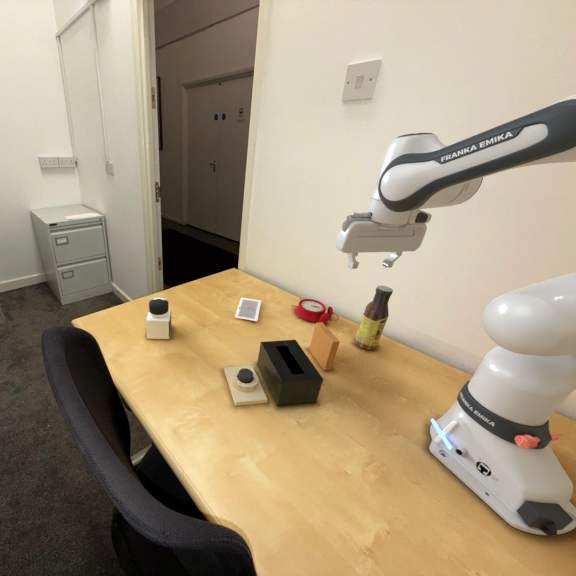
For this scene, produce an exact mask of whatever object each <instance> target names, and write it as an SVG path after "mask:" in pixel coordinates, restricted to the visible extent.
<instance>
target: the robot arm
mask: <svg viewBox="0 0 576 576" xmlns="http://www.w3.org/2000/svg"><path fill="white" fill-rule="evenodd" d="M559 163H560V164H561V163H576V92H575V93H573V94H570V95H569V96H566V97H563V98H562V99H560V100H557V101H555V102H552V103H550V104H549V105H546V106H544V107H542V108H540V109H537V110H536V111H533V112H530V113H528V114H526V115H523V116H520V117H518V118H515V119H513V120H510V121H507V122H504V123H503V124H500V125H497V126H495V127H492V128H490V129H488V130H485V131H482V132H480V133H477V134H475V135H472V136H470V137H467V138H465V139H462V140H460V141H458V142H455V143H452V144H450V145H448V146H447V145H446V144H444V143H443V142H442V141H441V140H440V139H439V136H438V135H437V134H435V133H432V132H418V133H417V132H416V133H415V132H414V133H407V134H402V135H399V136H396V137H395V138H394V139H393V140H392V141H391V142H390V143H389V145H388V146H387V148H386V150H385V152H384V154H383V157H382V160H381V163H380V165H379V167H378V171H377V175H376V184H375V187H374V190H373V192H372V193H371V195H370V198H369V200H368V201H369V202H368V205H367V208H366V211H365V212H352V213H350V214H348V215H347V216H346V217H345V218H343V222H342V225H341V227H340V229H339V232H338V234H337V237H336V239H335V243H334V246H335V247H336V250H338V251H339V252H341V253H343V254H346V255H347V258H348V260H349V261H348V264H347V267H348V268H349V269H350V270H355V269H358V267H359V265H360V262H359V261H357V260H356V257H358V256H359V253H390V254H389V256H388V257H387V258H384V259H383V261H382V264H381V265H382V267H384V268H386V269H387V268H388V269H390V268H393V266H394V263H395V262H396V261H397V260H398V259H399V258H400V257H401V256H402V255H403V252H416V251H417V250H418V249H419V248H420V247H421V245H422V243H423V241H424V238H425V236H426V233H427V229H428V227H427V226H428V225H427V224H429V223H430V221H431V220H432V216H433V215H432V214H431V213H429V212H427V211H424V210H427V209H437V208H446V207H453V206H457V205H460V204H463V203H465V202H468V201H469V200H471V198H473V197H474V196H475V194H477V192H478V191H479V189H480V188H481V186H482V183H483V180H484V178H485V177H489V176H492V175H496V174H499V173H501V172H506V171H509V170H513V169H518V168H523V167H530V166H536V165H546V164H559ZM481 318H482V326H483V328H484V329H483V330H484V331H485V333H486V335H487V336H488V337H489V338H490V340H492V341H493V342H494V343H495V344H496V345H497V346H494V347H493V348H491V349H490V350H489V351H488V352H487V353H486V354H485V356H483V357H484V358H483V360H482V361H481V362H480V364H479V366H478V367H477V369H476V370H475V372H474V374H473V375H472V377H471V378H470V379H469V380H467V381H466V382H465V383H464V384H463V386H462V388H461V389H460V390H459V392H458V394H457V396H456V401H455V402H454V403H453V404H452V406H450V408H448V410H447V411H446V412H445V413H444V414H443V415H441V416H440V417H439V418H437V419H436V420H435V419H434V418H431V419H430V422H431V424H430V426H429V434H430V438H431V442H430V444H429V446H428V450H429V452H430V453H431V454H432V455H433V456H434V457H435V458H436V459H437V460H438V461H439V462H440V463H441V464H442V465H444V466H445V467H446V468H447V469H448V470H449V471H450V472H451V473H453V475H455V477H456V478H458V479H459V480H460V481H461V482H462V483H463V484H464V485H466V486H467V487H468V488H469V489H470V490H471V491H472V492H473V493H474V494H476V496H478V497H479V498H480V499H481V501H483V502H484V503H485V504H486V505H487V506H488V507H490V509H491V510H493V511H494V512H495V513H496V514H497V515H498V516H499V517H501V519H503V520H504V521H505V523H507V524H508V525H510V526H511V527H512V528H514V529H516V530H519V531H522V532H525V533H528V534H530V535H531V534H533V535H537V536H550V537H556V536H558V535H562V534H567V533H569V532H571V531H573V530H574V529H576V506H575V505H574V504H573V503H572V502H571V501H570V500H571V498H572V495H573V494H574V484H573V481H572V480H571V478H570V477H569V476H568V474H567V473H566V470H565V468H563V466H562V463H560V461H559V459H558V457H557V456H556V454H555V453H554V451H553V449H552V448H551V446H550V445H549V444H550V443H551V442H552V441H553V442H554V441H558V440H559V439H560V438H561V437H562V436H563V434H562V433H556V434H551V432H550V418H551V417H552V416H553V415H554V414H555V413H556V411H557V410H558V409H559V408H560V407H561V406H562V404H563V403H564V402H565V401H566V400H567V399H568V397H570V396H571V394H572V393H573V392H574V391H575V390H576V271H575V272H570V273H566V274H564V275H560V276H556V277H553V278H552V277H551V278H549V279H546V280H542V281H538V282H535V283H532V284H528V285H525V286H521V287H518V288H515V289H512V290H510V291H507V292H505V293H503V294H501V295H499V296H497V297H495V298H493V299H492V300H491V301H490V302H489V303H487V305H486V306H485V308H484V310H483V313H482V317H481Z"/></svg>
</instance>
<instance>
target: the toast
mask: <svg viewBox="0 0 576 576" xmlns="http://www.w3.org/2000/svg"><path fill="white" fill-rule="evenodd" d="M311 336H312V337H311V339H310V340H311V341H310V344H309V348H308V351H309V352H310V354H311V355H312V357H314V358H315V360H316V362H318V364H319V366H320V367H321V368H322V370H323V371H331V370H332V368H333V365H334V362H335V358H336V355H337V351H338V349H339V346H340V343H341V341H340V339H338V337H337V336H336V335H334V333H333V332H332V331H331V330H330V329H329V328H328V326H326V324H323V322H315V325H314V329H313V332H312V335H311Z"/></svg>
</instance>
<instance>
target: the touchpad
mask: <svg viewBox="0 0 576 576" xmlns="http://www.w3.org/2000/svg"><path fill="white" fill-rule="evenodd" d="M261 303H262V300H261V299H254V298H248V297H242V296H241V297H240V299H239V302H238V305H237V308H236V312H235V315H234V318H237V319H242V320H247V321H254V322H258V319H259V314H260V309H261Z"/></svg>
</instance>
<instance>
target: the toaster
mask: <svg viewBox="0 0 576 576" xmlns="http://www.w3.org/2000/svg"><path fill="white" fill-rule="evenodd" d="M258 351H259V352H258V357H257V362H256V363H257V364H256V365H257V367H258V369H259V371H260V373H261V376H262V378H263V380H264V382H265V384H266V386H267V388H268V390H269V392H270V395H271V397H272V400H273V401H274V403H275V405H276V407H277V408H280V407H291V406H302V405H312V404H317V402H318V399H319V395H320V392H321V388H322V386H323V381H324V377H322V375H321V373H319V371H318V369H317V368H316V366H315V365H314V363H313V362H312V361H311V359H310V358H309V356H308V355H307V354H306V353H305V351H304V350H303V348H302V347H301V346H300V344H299V342H298V341H297V339H284V340H272V341H271V340H270V341H269V340H268V341H260V345H259V350H258Z"/></svg>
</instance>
